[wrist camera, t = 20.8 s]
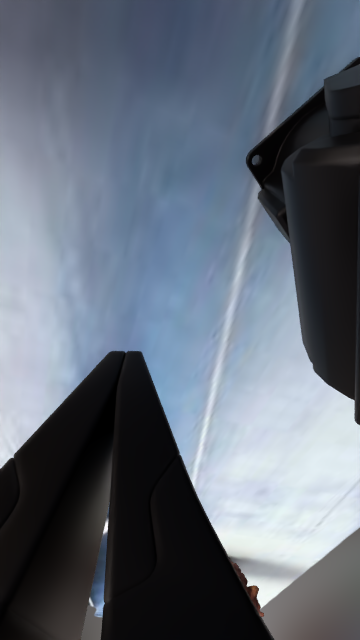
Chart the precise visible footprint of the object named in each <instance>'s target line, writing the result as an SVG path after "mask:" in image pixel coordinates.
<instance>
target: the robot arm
mask: <svg viewBox="0 0 360 640" xmlns="http://www.w3.org/2000/svg"><path fill="white" fill-rule="evenodd" d="M359 64H360V57H358V58H356V59H354V60H353V61H352V62H351V63H349V64H348V65H347V66H346V67H345V68H344V69H343V70H342V71H340V72H339V73H338V74H335V75H333V76H331V77H328V78H326V79H324V86H323V87H322V88H321V89H320V90H319V91H318V92H317V93H315V94H314V95H313V96H312V97H311V98H310V99H309V100H308V101H306V102H305V103H304V104H303V105H302V106H301V107H300V108H298V109H297V110H296V111H295V112H294V113H293V114H292V115H291V116H289V117H288V118H287V119H286V120H285V121H284V122H283V123H282V124H280V125H279V126H278V127H277V128H276V129H275V130H274V131H272V132H271V133H270V134H269V135H268V136H267V137H266V138H265V139H263V140H262V141H261V142H260V143H259V144H258V145H257V146H255V147H254V148H253V149H252V150H251V151H250V152H249V153H248V155H247V157H246V164H247V166H248V168H249V170H250V171H251V173H252V174H253V176H254V177H255V179H256V181H257V182H258V184H259V185H260V187H261V188H262V190H261V191H260V192H259V194H258V199H259V201H260V202H261V204H262V205H263V207H264V209H265V210H266V212H267V213H268V215H269V216H270V218H271V219H272V221H273V222H274V224H275V225H276V227H277V228H278V230H279V231H280V232H281V233H282V235H283V236H284V237H285V238H286V239H287V240H288V242H289V243H290V245H291V253H292V261H293V269H294V277H295V285H296V293H297V301H298V309H299V317H300V325H301V333H302V341H303V344H304V347H305V349H306V352H307V354H308V357H309V359H310V361H311V362H312V363H313V369H314V371H315V372H316V373H317V374H318V375H319V376H320V377H321V378H322V379H323V380H324V381H325V382H326V383H327V384H328V385H329V386H331V387H333V388H334V389H336V390H337V391H339V392H341V393H342V394H344V395H345V396H347V397H349V398H351V399H353V400H355V417H354V418H355V421H356V423H357V424H359V425H360V65H359ZM255 155H259V156H260V161H259V162H258V164H256V165H253V164H252V158H253V157H254V156H255ZM109 502H110V504H109ZM108 507H109V521H108V537H107V554H106V570H105V586H104V602H105V604H104V607H103V620H102V633H101V640H274V638H273V636H272V635H271V633H270V631H269V630H268V628H267V626H266V625H265V623H264V621H263V619H262V618H261V616H260V614H259V613H258V611H257V609H256V607H255V605H254V604H253V602H252V600H251V598H250V596H249V595H248V593H247V591H246V589H245V587H244V585H243V583H242V581H241V580H240V578H239V576H238V574H237V572H236V570H235V568H234V566H233V564H232V563H231V561H230V559H229V557H228V555H227V553H226V551H225V549H224V547H223V546H222V544H221V542H220V540H219V538H218V536H217V534H216V532H215V530H214V529H213V527H212V525H211V523H210V521H209V519H208V517H207V515H206V513H205V511H204V509H203V507H202V505H201V502H200V500H199V498H198V496H197V494H196V492H195V489H194V487H193V485H192V482H191V480H190V477H189V475H188V473H187V470H186V467H185V465H184V462H183V460H182V457H181V455H180V452H179V449H178V447H177V444H176V441H175V439H174V436H173V434H172V431H171V428H170V426H169V423H168V420H167V418H166V415H165V412H164V410H163V407H162V405H161V402H160V399H159V397H158V394H157V391H156V389H155V386H154V383H153V381H152V378H151V375H150V373H149V370H148V368H147V365H146V362H145V360H144V357H143V354H142V352H141V351H128V352H126V353H125V352H124V351H111V352H109V353H108V354H107V355H106V356H105V357H104V359H103V360H102V361H101V362H100V363H99V364H98V365H97V366H96V367H95V368H94V369H93V370H92V371H91V373H90V374H89V375H88V376H87V377H86V378H85V379H84V380H83V381H82V382H81V383H80V384H79V385H78V386H77V388H76V389H75V390H74V391H73V392H72V393H71V394H70V395H69V396H68V397H67V398H66V399H65V400H64V402H63V403H62V404H61V405H60V406H59V407H58V408H57V409H56V410H55V411H54V412H53V413H52V414H51V415H50V417H49V418H48V419H47V420H46V421H45V422H44V423H43V424H42V425H41V426H40V427H39V428H38V429H37V431H36V432H35V433H34V434H33V435H32V436H31V437H30V438H29V439H28V440H27V441H26V442H25V443H24V444H23V446H22V447H21V448H20V449H19V450H18V451H17V452H16V453H15V454H14V458H10V459H9V460H8V461H7V463H6V464H5V465H4V466H3V467H2V468H1V469H0V640H81V635H82V630H83V625H84V621H85V616H86V611H87V606H88V602H89V597H90V592H91V588H92V583H93V578H94V573H95V569H96V564H97V559H98V555H99V550H100V545H101V540H102V536H103V531H104V526H105V521H106V517H107V512H108Z"/></svg>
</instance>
